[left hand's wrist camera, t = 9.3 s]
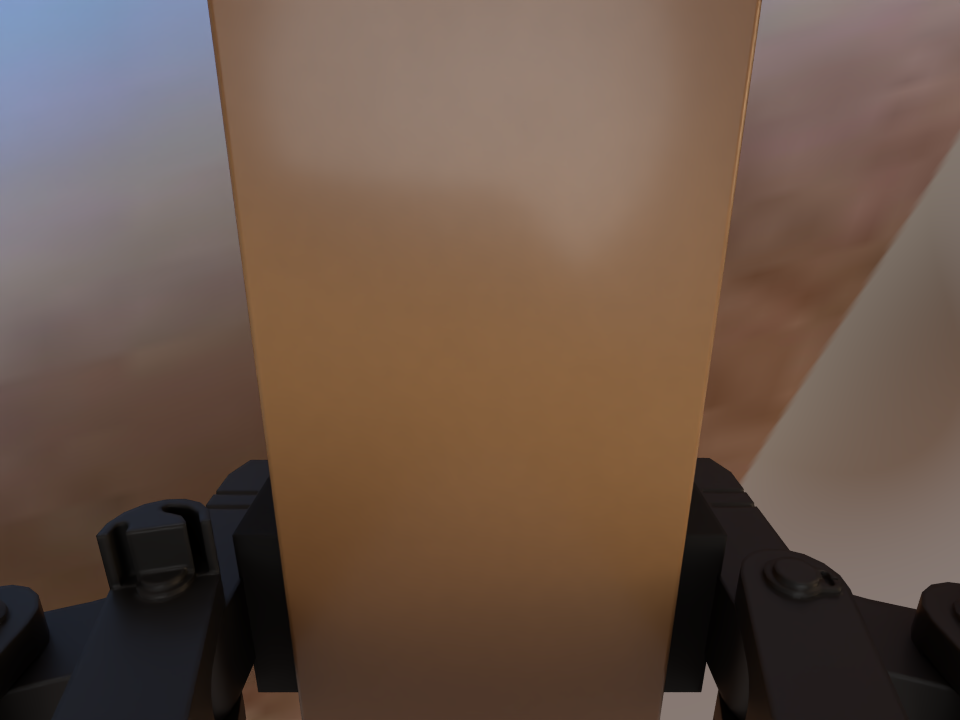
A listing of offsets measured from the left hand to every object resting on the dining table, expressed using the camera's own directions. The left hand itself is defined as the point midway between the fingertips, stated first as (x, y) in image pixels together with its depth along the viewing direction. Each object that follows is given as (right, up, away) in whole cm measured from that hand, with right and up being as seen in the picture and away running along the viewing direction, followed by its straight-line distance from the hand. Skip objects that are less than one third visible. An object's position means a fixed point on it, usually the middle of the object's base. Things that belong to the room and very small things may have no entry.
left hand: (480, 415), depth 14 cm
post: (0, +24, -8) cm, 25 cm away
